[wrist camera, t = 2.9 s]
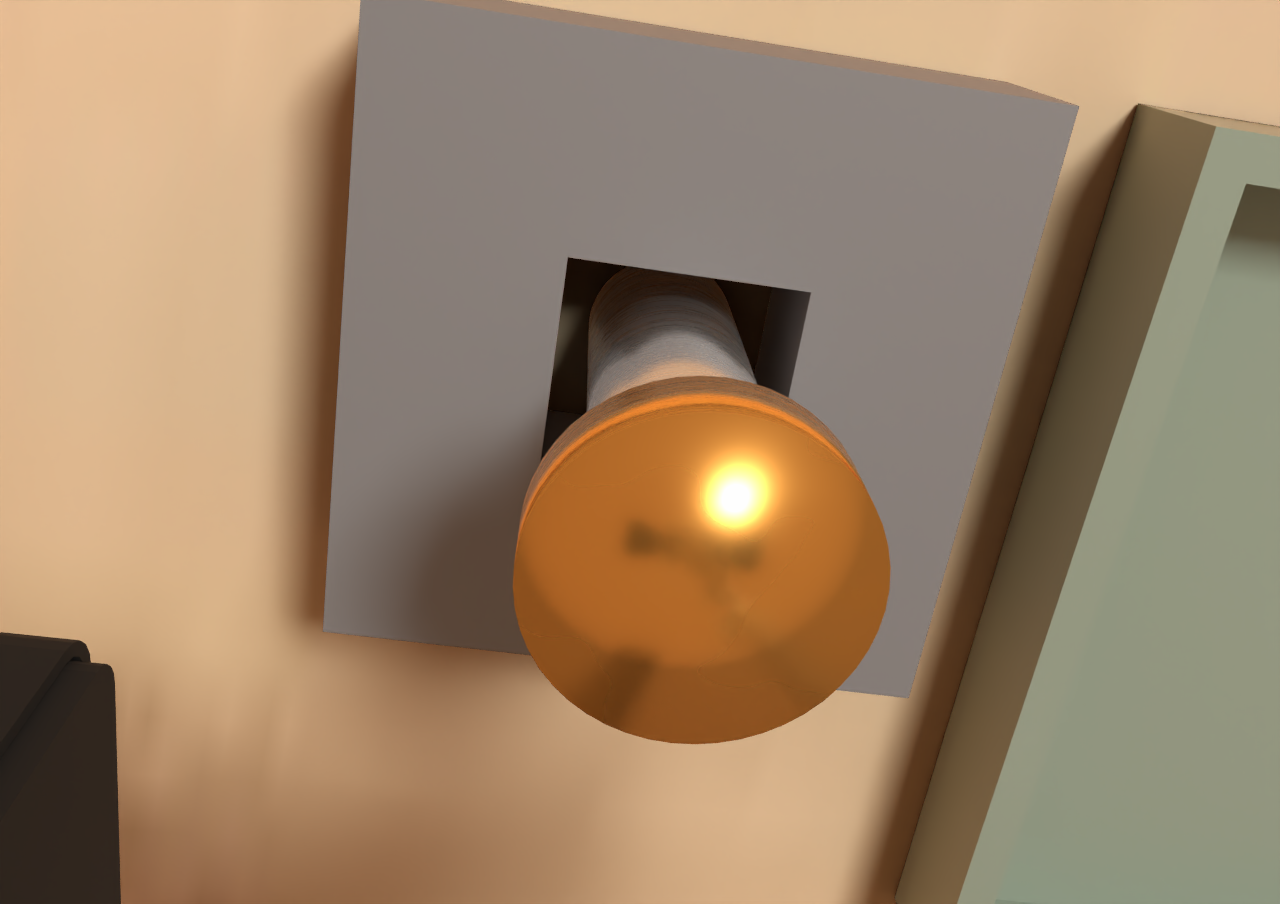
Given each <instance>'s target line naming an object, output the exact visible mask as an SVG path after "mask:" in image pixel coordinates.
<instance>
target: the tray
mask: <svg viewBox="0 0 1280 904" xmlns="http://www.w3.org/2000/svg"><path fill="white" fill-rule="evenodd" d="M895 901H896V904H1280V127H1279V126H1273V125H1267V124H1260V123H1254V122H1248V121H1242V120H1236V119H1230V118H1224V117H1217V116H1211V115H1205V114H1199V113H1193V112H1187V111H1181V110H1174V109H1168V108H1162V107H1156V106H1150V105H1144V104H1138V106H1137V109H1136V112H1135V116H1134V119H1133V122H1132V126H1131V129H1130V132H1129V135H1128V139H1127V142H1126V145H1125V148H1124V152H1123V155H1122V158H1121V161H1120V165H1119V168H1118V171H1117V174H1116V178H1115V181H1114V184H1113V187H1112V191H1111V194H1110V197H1109V201H1108V204H1107V207H1106V210H1105V214H1104V217H1103V220H1102V223H1101V227H1100V230H1099V233H1098V236H1097V240H1096V243H1095V246H1094V249H1093V253H1092V256H1091V259H1090V262H1089V266H1088V269H1087V272H1086V276H1085V279H1084V282H1083V285H1082V289H1081V292H1080V295H1079V298H1078V302H1077V305H1076V308H1075V311H1074V315H1073V318H1072V321H1071V324H1070V328H1069V331H1068V334H1067V337H1066V341H1065V344H1064V347H1063V351H1062V354H1061V357H1060V360H1059V364H1058V367H1057V370H1056V373H1055V377H1054V380H1053V383H1052V386H1051V390H1050V393H1049V396H1048V399H1047V403H1046V406H1045V409H1044V412H1043V416H1042V419H1041V422H1040V426H1039V429H1038V432H1037V435H1036V439H1035V442H1034V445H1033V448H1032V452H1031V455H1030V458H1029V461H1028V465H1027V468H1026V471H1025V474H1024V478H1023V481H1022V484H1021V487H1020V491H1019V494H1018V497H1017V501H1016V504H1015V507H1014V510H1013V514H1012V517H1011V520H1010V523H1009V527H1008V530H1007V533H1006V536H1005V540H1004V543H1003V546H1002V549H1001V553H1000V556H999V559H998V562H997V566H996V569H995V572H994V576H993V579H992V582H991V585H990V589H989V592H988V595H987V598H986V602H985V605H984V608H983V611H982V615H981V618H980V621H979V624H978V628H977V631H976V634H975V637H974V641H973V644H972V647H971V651H970V654H969V657H968V660H967V664H966V667H965V670H964V673H963V677H962V680H961V683H960V686H959V690H958V693H957V696H956V699H955V703H954V706H953V709H952V712H951V716H950V719H949V722H948V725H947V729H946V732H945V735H944V739H943V742H942V745H941V748H940V752H939V755H938V758H937V761H936V765H935V768H934V771H933V774H932V778H931V781H930V784H929V787H928V791H927V794H926V797H925V800H924V804H923V807H922V810H921V814H920V817H919V820H918V823H917V827H916V830H915V833H914V836H913V840H912V843H911V846H910V849H909V853H908V856H907V859H906V862H905V866H904V869H903V872H902V875H901V879H900V882H899V885H898V889H897V892H896V895H895Z"/></svg>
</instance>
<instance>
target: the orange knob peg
mask: <svg viewBox="0 0 1280 904" xmlns="http://www.w3.org/2000/svg"><path fill="white" fill-rule="evenodd" d="M890 570H891V567H890V557H889V547H888V543H887V539H886V535H885V531H884V527H883V524H882V522H881V519H880V517H879V515H878V512H877V510H876V508H875V505H874V503H873V501H872V499H871V497H870V495H869V493H868V491H867V489H866V487H865V485H864V483H863V481H862V479H861V477H860V475H859V473H858V471H857V469H856V467H855V465H854V463H853V461H852V459H851V458H850V456H849V454H848V453H847V451H846V450H845V448H844V446H843V445H842V443H841V442H840V441H839V440H838V439H837V437H836V436H835V435H834V434H833V433H832V431H831V430H830V429H829V428H828V427H827V426H826V425H825V424H824V423H823V422H822V421H820V420H819V419H818V418H817V417H816V416H815V415H814V414H813V413H812V412H810V411H809V410H807V409H806V408H804V407H803V406H801V405H800V404H798V403H797V402H795V401H794V400H792V399H790V398H788V397H786V396H784V395H782V394H780V393H778V392H776V391H774V390H772V389H769V388H766V387H763V386H760V385H757V382H756V379H755V377H754V374H753V371H752V368H751V365H750V363H749V360H748V357H747V354H746V352H745V349H744V346H743V343H742V340H741V338H740V335H739V332H738V329H737V327H736V324H735V321H734V318H733V316H732V313H731V310H730V307H729V304H728V302H727V300H726V297H725V295H724V293H723V292H722V290H721V289H720V287H719V286H718V284H717V283H716V282H715V281H714V280H713V279H712V278H708V277H701V276H694V275H687V274H680V273H673V272H666V271H659V270H652V269H646V268H639V267H632V266H627V267H625V268H623V269H622V270H620V271H618V272H617V273H616V274H615V275H613V276H612V277H611V278H610V279H609V280H608V281H607V282H606V283H605V284H604V286H603V287H602V289H601V290H600V291H599V293H598V295H597V297H596V299H595V301H594V303H593V306H592V309H591V313H590V318H589V335H588V373H587V412H586V413H585V414H584V415H582V416H581V417H580V418H579V419H577V420H576V421H575V422H574V423H572V424H571V425H570V426H569V427H568V428H567V429H566V430H565V431H564V432H563V433H562V435H561V436H560V437H559V438H558V439H557V440H556V441H555V442H554V443H553V445H552V446H551V448H550V449H549V450H548V452H547V453H546V454H545V456H544V457H543V459H542V460H541V462H540V464H539V466H538V468H537V470H536V471H535V473H534V475H533V477H532V479H531V482H530V485H529V487H528V490H527V493H526V496H525V498H524V503H523V508H522V513H521V518H520V524H519V532H518V539H517V546H516V554H515V561H514V572H513V596H514V607H515V612H516V616H517V620H518V624H519V628H520V631H521V634H522V636H523V639H524V641H525V643H526V646H527V648H528V651H529V652H530V654H531V656H532V657H533V659H534V661H535V662H536V664H537V666H538V667H539V669H540V670H541V671H542V673H543V674H544V675H545V676H546V678H547V679H548V680H549V681H550V683H551V684H552V685H553V686H554V687H555V688H556V689H557V690H558V691H559V692H560V693H561V694H562V695H563V696H564V697H565V698H566V699H568V700H569V701H570V702H571V703H573V704H574V705H575V706H577V707H578V708H580V709H581V710H582V711H584V712H585V713H586V714H588V715H590V716H592V717H594V718H595V719H597V720H599V721H601V722H602V723H604V724H606V725H609V726H611V727H613V728H616V729H618V730H621V731H623V732H626V733H629V734H632V735H636V736H639V737H643V738H646V739H651V740H657V741H663V742H669V743H682V744H706V743H720V742H726V741H732V740H738V739H743V738H747V737H750V736H754V735H757V734H761V733H764V732H767V731H769V730H772V729H774V728H777V727H779V726H782V725H784V724H786V723H788V722H790V721H792V720H794V719H796V718H798V717H799V716H801V715H803V714H805V713H807V712H808V711H809V710H811V709H812V708H814V707H815V706H817V705H818V704H820V703H821V702H823V701H824V700H825V699H826V698H827V697H829V696H830V695H831V694H832V693H833V692H834V691H835V690H836V689H838V688H839V687H840V686H841V685H842V684H843V683H844V682H845V680H846V679H847V678H848V677H849V676H850V675H851V674H852V673H853V672H854V670H855V669H856V668H857V666H858V665H859V664H860V662H861V661H862V659H863V658H864V656H865V655H866V653H867V652H868V650H869V648H870V647H871V645H872V643H873V641H874V639H875V637H876V635H877V633H878V631H879V628H880V625H881V622H882V619H883V616H884V613H885V610H886V605H887V600H888V595H889V590H890Z"/></svg>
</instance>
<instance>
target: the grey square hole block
mask: <svg viewBox="0 0 1280 904" xmlns="http://www.w3.org/2000/svg"><path fill="white" fill-rule="evenodd" d="M1078 109H1079V106H1077V105H1074V104H1071V103H1068V102H1065V101H1062V100H1059V99H1056V98H1053V97H1050V96H1047V95H1044V94H1041V93H1038V92H1035V91H1032V90H1029V89H1026V88H1023V87H1020V86H1017V85H1014V84H1011V83H1008V82H1002V81H996V80H990V79H984V78H978V77H972V76H966V75H960V74H953V73H947V72H941V71H935V70H929V69H923V68H917V67H910V66H904V65H898V64H892V63H886V62H880V61H874V60H867V59H861V58H855V57H849V56H843V55H837V54H831V53H824V52H818V51H812V50H806V49H800V48H794V47H788V46H781V45H775V44H769V43H763V42H757V41H751V40H745V39H738V38H732V37H726V36H720V35H714V34H708V33H702V32H695V31H689V30H683V29H677V28H671V27H665V26H659V25H652V24H646V23H640V22H634V21H628V20H622V19H616V18H610V17H603V16H597V15H591V14H585V13H579V12H573V11H567V10H560V9H554V8H548V7H542V6H536V5H530V4H524V3H517V2H511V1H505V0H361V3H360V19H359V36H358V53H357V70H356V86H355V103H354V120H353V136H352V153H351V170H350V187H349V203H348V220H347V237H346V254H345V270H344V287H343V304H342V321H341V337H340V354H339V371H338V388H337V404H336V421H335V438H334V454H333V471H332V488H331V505H330V521H329V538H328V555H327V572H326V588H325V605H324V622H323V632H331V633H339V634H348V635H357V636H366V637H375V638H383V639H392V640H401V641H410V642H419V643H427V644H436V645H445V646H454V647H463V648H471V649H480V650H489V651H498V652H507V653H515V654H524V655H531V654H530V652H529V651H528V648H527V646H526V643H525V641H524V639H523V636H522V634H521V631H520V628H519V624H518V620H517V616H516V612H515V607H514V596H513V572H514V561H515V554H516V546H517V539H518V532H519V524H520V518H521V513H522V508H523V503H524V498H525V496H526V493H527V490H528V487H529V485H530V482H531V479H532V477H533V475H534V473H535V471H536V470H537V468H538V466H539V464H540V462H541V460H542V459H543V457H544V456H545V454H546V453H547V452H548V450H549V449H550V448H551V446H552V445H553V443H554V442H555V441H556V440H557V439H558V438H559V437H560V436H561V435H562V433H563V432H564V431H565V430H566V429H567V428H568V427H569V426H570V425H571V424H572V423H574V422H575V421H576V420H577V419H579V418H580V417H581V416H582V414H575V413H567V412H559V411H552V410H548V402H549V395H550V387H551V380H552V372H553V365H554V357H555V350H556V342H557V335H558V327H559V320H560V312H561V305H562V297H563V290H564V282H565V275H566V267H567V260H568V257H569V258H576V259H583V260H590V261H597V262H604V263H611V264H618V265H625V266H632V267H639V268H646V269H652V270H659V271H666V272H673V273H680V274H687V275H694V276H701V277H708V278H715V279H722V280H729V281H736V282H743V283H750V284H757V285H763V286H770V287H772V289H771V294H770V299H769V304H768V309H767V314H766V319H765V324H764V329H763V334H762V339H761V344H760V348H759V353H758V358H757V363H756V368H755V373H754V377H755V379H756V382H757V385H760V386H763V387H766V388H769V389H772V390H774V391H776V392H778V393H780V394H782V395H784V396H786V397H788V398H790V399H792V400H794V401H795V402H797V403H798V404H800V405H801V406H803V407H804V408H806V409H807V410H809V411H810V412H812V413H813V414H814V415H815V416H816V417H817V418H818V419H819V420H820V421H822V422H823V423H824V424H825V425H826V426H827V427H828V428H829V429H830V430H831V431H832V433H833V434H834V435H835V436H836V437H837V439H838V440H839V441H840V442H841V443H842V445H843V446H844V448H845V450H846V451H847V453H848V454H849V456H850V458H851V459H852V461H853V463H854V465H855V467H856V469H857V471H858V473H859V475H860V477H861V479H862V481H863V483H864V485H865V487H866V489H867V491H868V493H869V495H870V497H871V499H872V501H873V503H874V505H875V508H876V510H877V512H878V515H879V517H880V519H881V522H882V524H883V527H884V531H885V535H886V539H887V543H888V547H889V557H890V567H891V570H890V590H889V595H888V600H887V605H886V610H885V613H884V616H883V619H882V622H881V625H880V628H879V631H878V633H877V635H876V637H875V639H874V641H873V643H872V645H871V647H870V648H869V650H868V652H867V653H866V655H865V656H864V658H863V659H862V661H861V662H860V664H859V665H858V666H857V668H856V669H855V670H854V672H853V673H852V674H851V675H850V676H849V677H848V678H847V679H846V680H845V682H844V683H843V684H842V685H841V686H840V687H839V688H838V689H836V690H841V691H850V692H859V693H867V694H876V695H885V696H894V697H903V698H909V695H910V691H911V688H912V684H913V681H914V677H915V674H916V671H917V667H918V664H919V660H920V657H921V653H922V650H923V646H924V643H925V639H926V636H927V632H928V629H929V625H930V622H931V618H932V615H933V612H934V608H935V605H936V601H937V598H938V594H939V591H940V587H941V584H942V580H943V577H944V573H945V570H946V566H947V563H948V560H949V556H950V553H951V549H952V546H953V542H954V539H955V535H956V532H957V528H958V525H959V521H960V518H961V514H962V511H963V508H964V504H965V501H966V497H967V494H968V490H969V487H970V483H971V480H972V476H973V473H974V469H975V466H976V462H977V459H978V455H979V452H980V449H981V445H982V442H983V438H984V435H985V431H986V428H987V424H988V421H989V417H990V414H991V410H992V407H993V403H994V400H995V397H996V393H997V390H998V386H999V383H1000V379H1001V376H1002V372H1003V369H1004V365H1005V362H1006V358H1007V355H1008V351H1009V348H1010V344H1011V341H1012V338H1013V334H1014V331H1015V327H1016V324H1017V320H1018V317H1019V313H1020V310H1021V306H1022V303H1023V299H1024V296H1025V292H1026V289H1027V286H1028V282H1029V279H1030V275H1031V272H1032V268H1033V265H1034V261H1035V258H1036V254H1037V251H1038V247H1039V244H1040V240H1041V237H1042V234H1043V230H1044V227H1045V223H1046V220H1047V216H1048V213H1049V209H1050V206H1051V202H1052V199H1053V195H1054V192H1055V188H1056V185H1057V181H1058V178H1059V175H1060V171H1061V168H1062V164H1063V161H1064V157H1065V154H1066V150H1067V147H1068V143H1069V140H1070V136H1071V133H1072V129H1073V126H1074V123H1075V119H1076V116H1077V112H1078Z"/></svg>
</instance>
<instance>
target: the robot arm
mask: <svg viewBox="0 0 1280 904" xmlns="http://www.w3.org/2000/svg"><path fill="white" fill-rule="evenodd" d="M0 904H121V895H120V857H119V820H118V782H117V745H116V707H115V680H114V673H113V670H112V668H111V666H109V665H108V664H99V663H91V661H90V653H89V651H88V648H87V646H86V644H85V643H83V642H82V641H80V640H70V639H60V638H51V637H41V636H31V635H22V634H12V633H2V632H1V633H0Z"/></svg>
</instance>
